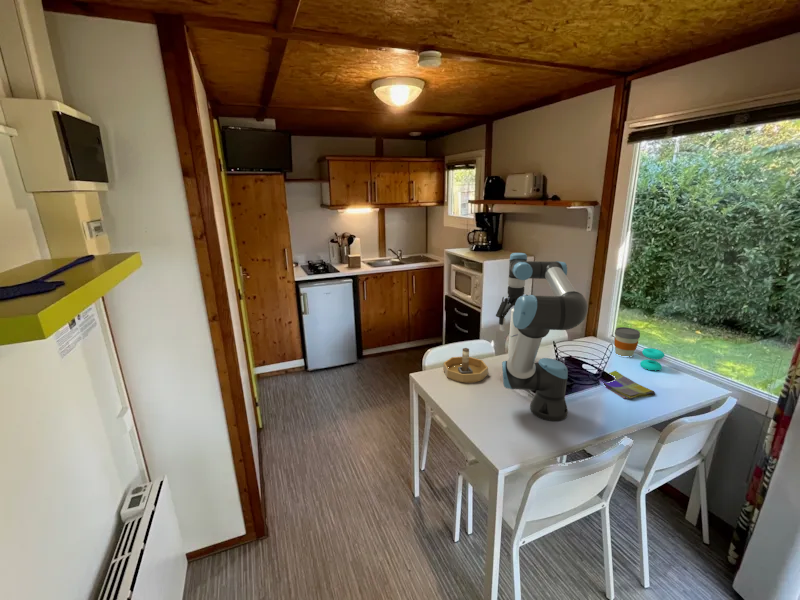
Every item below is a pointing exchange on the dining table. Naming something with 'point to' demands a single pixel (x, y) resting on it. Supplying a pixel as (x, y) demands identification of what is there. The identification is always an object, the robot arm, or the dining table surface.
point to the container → (512, 336)
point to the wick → (465, 359)
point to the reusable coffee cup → (626, 341)
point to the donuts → (652, 354)
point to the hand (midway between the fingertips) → (513, 328)
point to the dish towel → (627, 387)
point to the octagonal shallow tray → (473, 374)
